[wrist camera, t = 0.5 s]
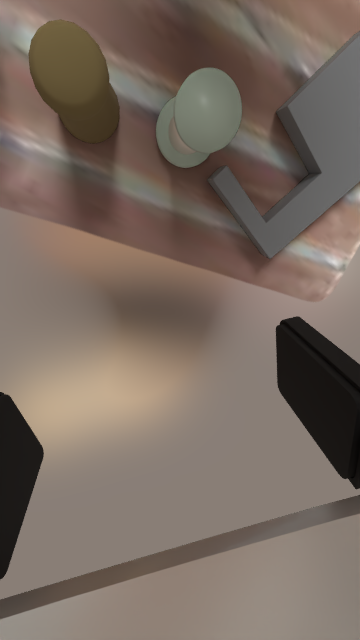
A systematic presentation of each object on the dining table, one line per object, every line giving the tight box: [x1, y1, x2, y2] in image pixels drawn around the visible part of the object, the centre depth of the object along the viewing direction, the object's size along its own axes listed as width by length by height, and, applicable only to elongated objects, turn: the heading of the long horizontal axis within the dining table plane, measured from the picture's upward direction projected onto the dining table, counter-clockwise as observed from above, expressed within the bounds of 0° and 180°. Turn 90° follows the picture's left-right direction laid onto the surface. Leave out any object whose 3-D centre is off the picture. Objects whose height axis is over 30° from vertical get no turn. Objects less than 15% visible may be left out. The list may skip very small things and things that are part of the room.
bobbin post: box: [156, 68, 242, 168], centre depth 25 cm, size 6×6×10 cm
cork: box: [29, 20, 120, 143], centre depth 23 cm, size 6×6×11 cm
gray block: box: [207, 31, 360, 259], centre depth 32 cm, size 20×12×2 cm, turn 132°
